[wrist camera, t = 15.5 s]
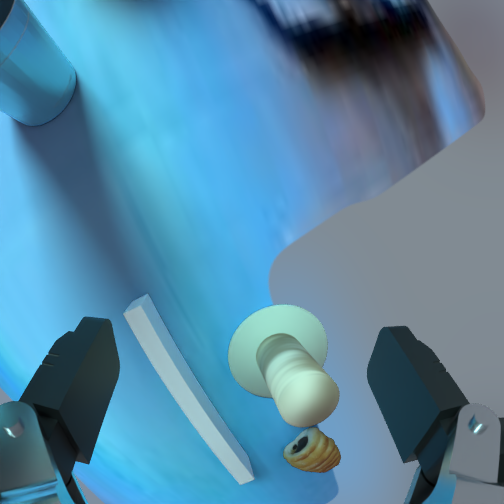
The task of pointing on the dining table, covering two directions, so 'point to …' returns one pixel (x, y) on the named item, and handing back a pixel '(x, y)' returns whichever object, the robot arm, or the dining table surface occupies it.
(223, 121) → the dining table surface
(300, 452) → the pastry
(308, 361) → the dome-topped cylinder
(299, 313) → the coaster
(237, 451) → the wall
